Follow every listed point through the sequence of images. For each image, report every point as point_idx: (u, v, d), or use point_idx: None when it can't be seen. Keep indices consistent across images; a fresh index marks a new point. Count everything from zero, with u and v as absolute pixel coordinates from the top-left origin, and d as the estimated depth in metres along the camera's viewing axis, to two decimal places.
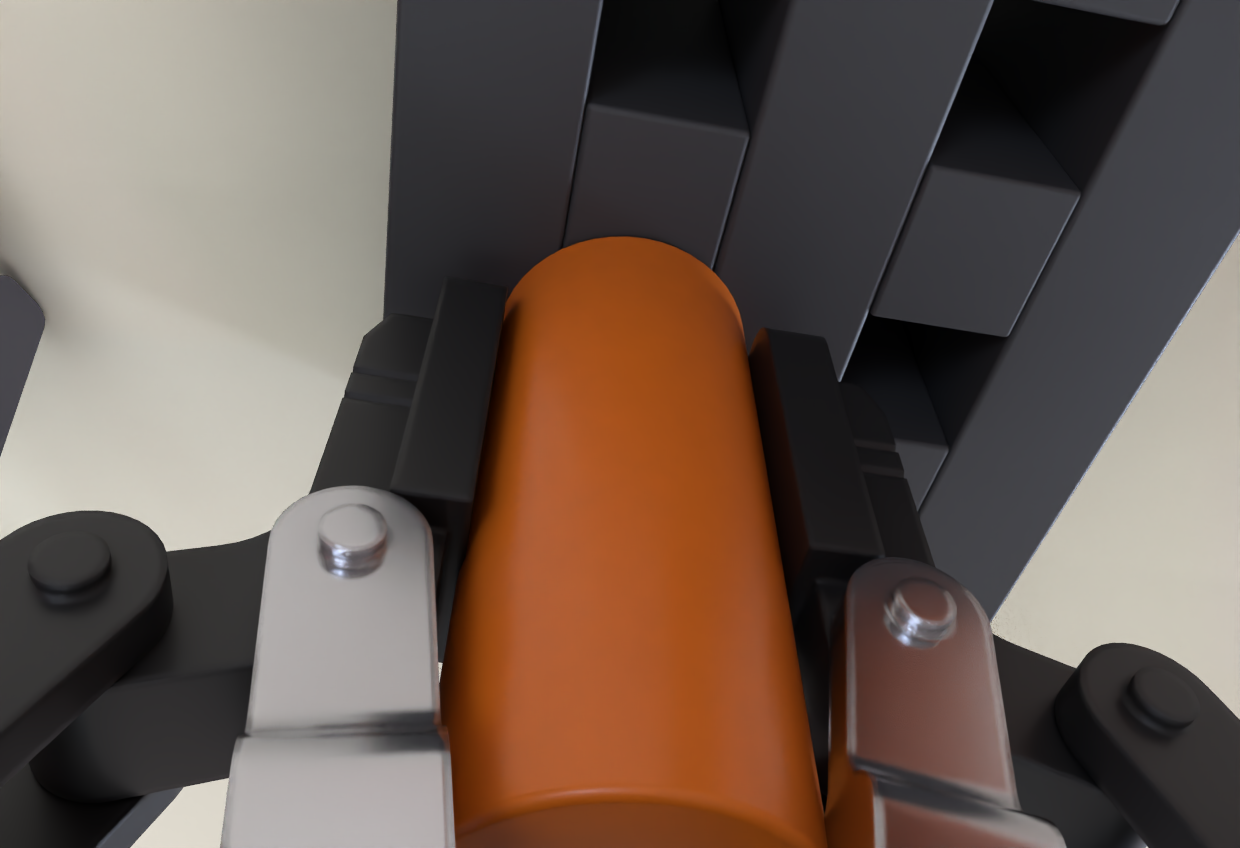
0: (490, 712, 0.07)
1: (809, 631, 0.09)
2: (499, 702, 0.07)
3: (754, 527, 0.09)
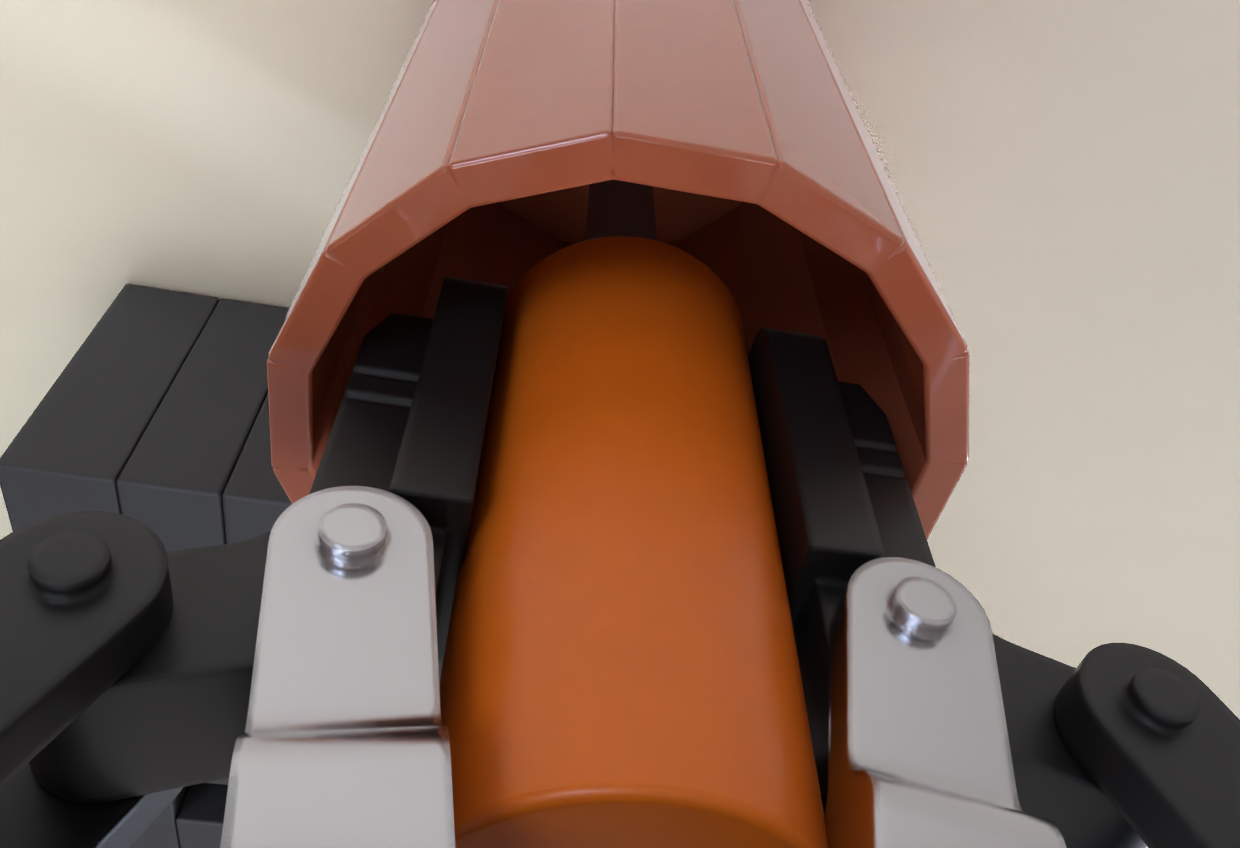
0: (488, 712, 0.07)
1: (809, 631, 0.09)
2: (497, 702, 0.07)
3: (752, 527, 0.09)
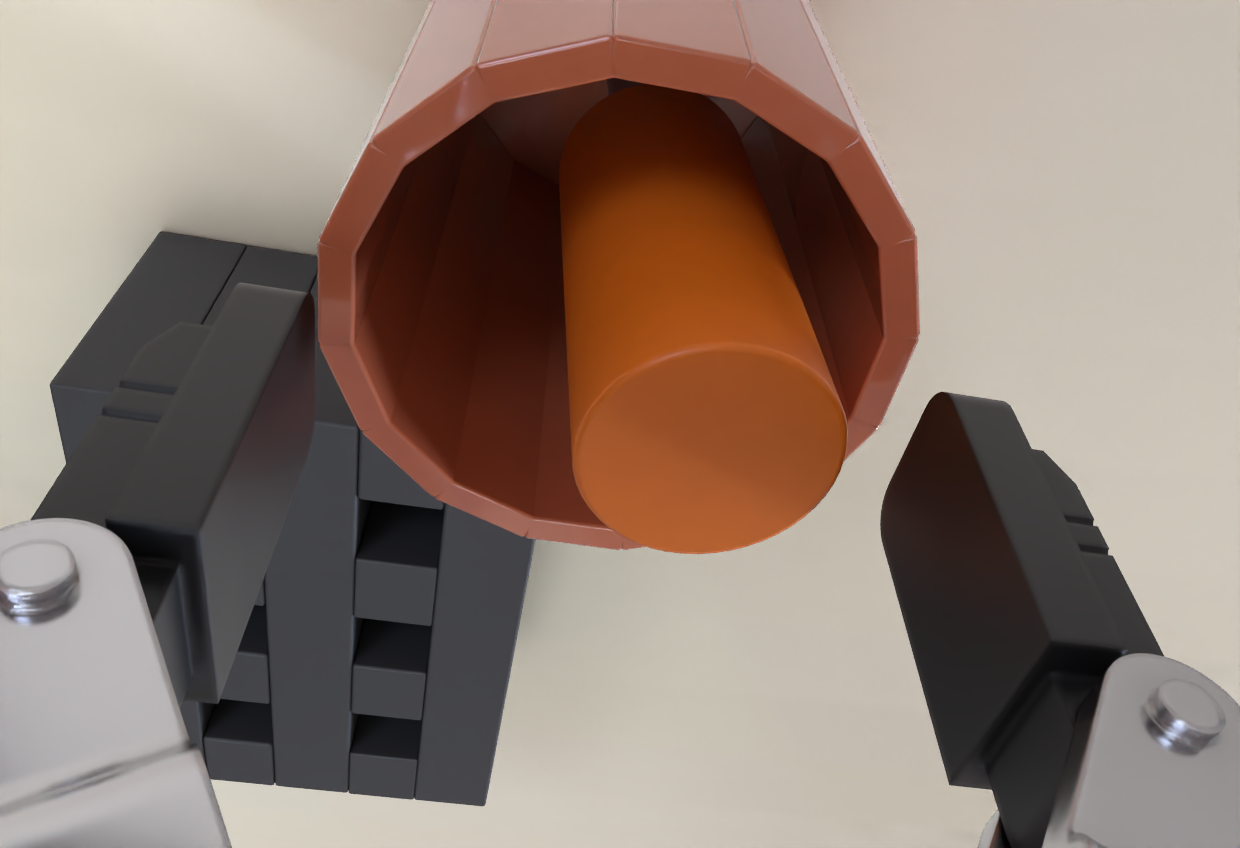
0: (622, 330, 0.11)
1: (1044, 727, 0.09)
2: (627, 323, 0.11)
3: (775, 247, 0.13)
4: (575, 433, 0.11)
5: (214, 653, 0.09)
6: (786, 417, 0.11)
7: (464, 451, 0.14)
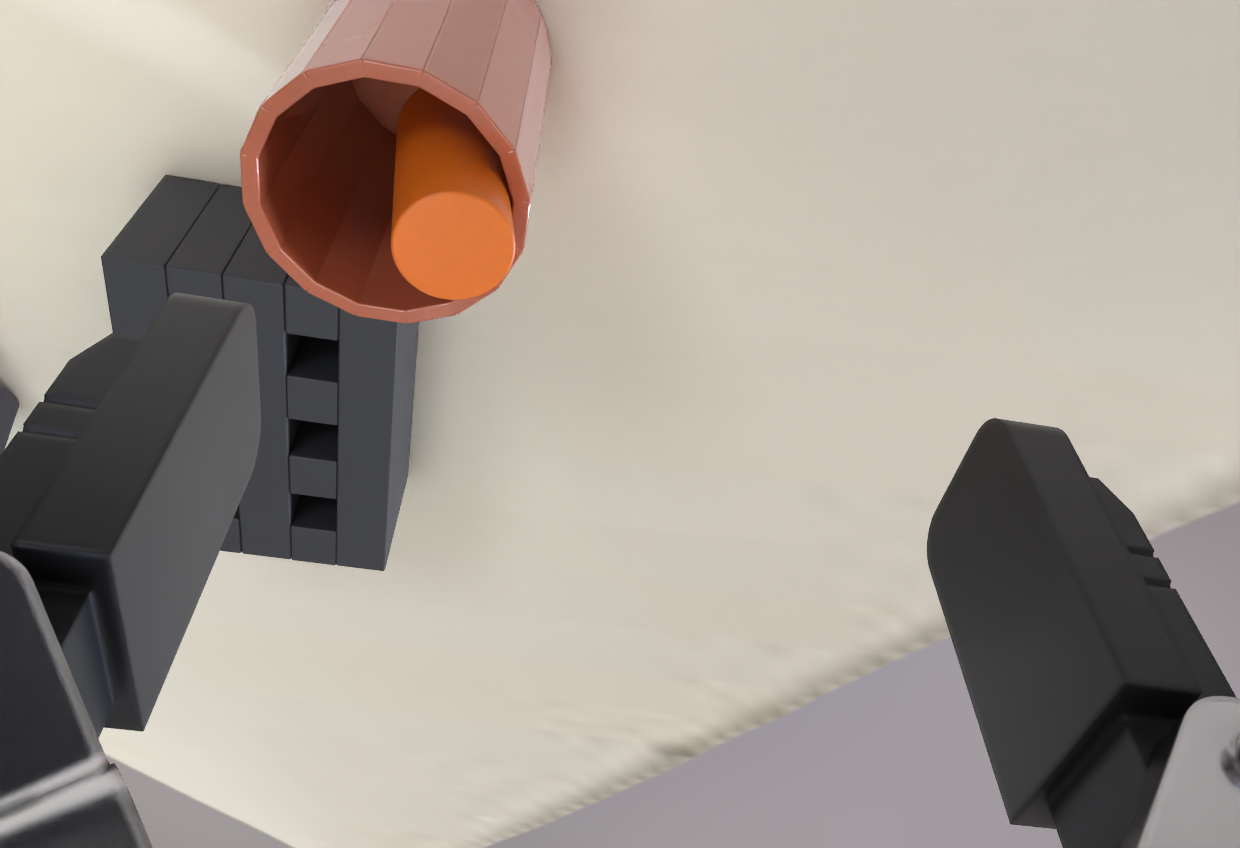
0: (410, 191, 0.24)
1: (1116, 770, 0.08)
2: (412, 188, 0.24)
3: (491, 158, 0.26)
4: (391, 237, 0.24)
5: (136, 679, 0.08)
6: (483, 225, 0.24)
7: (323, 269, 0.28)
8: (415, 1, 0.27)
